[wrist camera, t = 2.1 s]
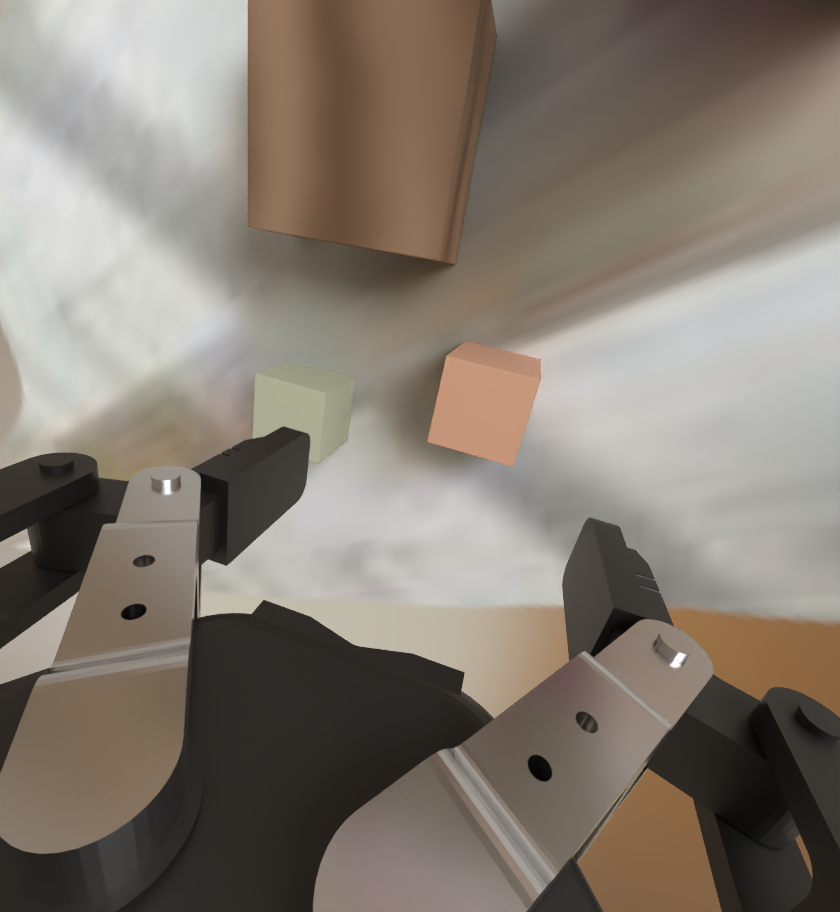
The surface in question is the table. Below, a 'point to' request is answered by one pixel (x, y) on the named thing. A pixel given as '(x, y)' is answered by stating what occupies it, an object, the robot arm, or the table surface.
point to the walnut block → (366, 119)
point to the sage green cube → (304, 405)
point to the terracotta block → (484, 401)
